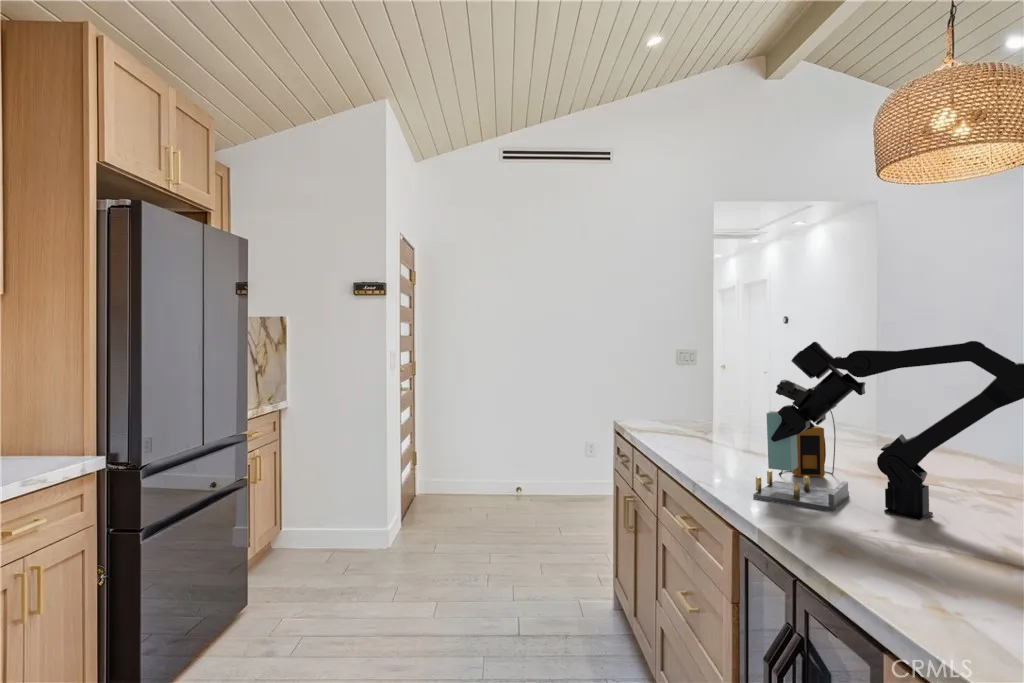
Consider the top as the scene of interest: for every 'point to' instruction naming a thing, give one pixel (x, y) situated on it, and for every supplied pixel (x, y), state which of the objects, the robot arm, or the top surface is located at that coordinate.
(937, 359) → the robot arm
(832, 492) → the plate
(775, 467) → the plate
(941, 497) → the top surface
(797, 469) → the multimeter
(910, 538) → the top surface
